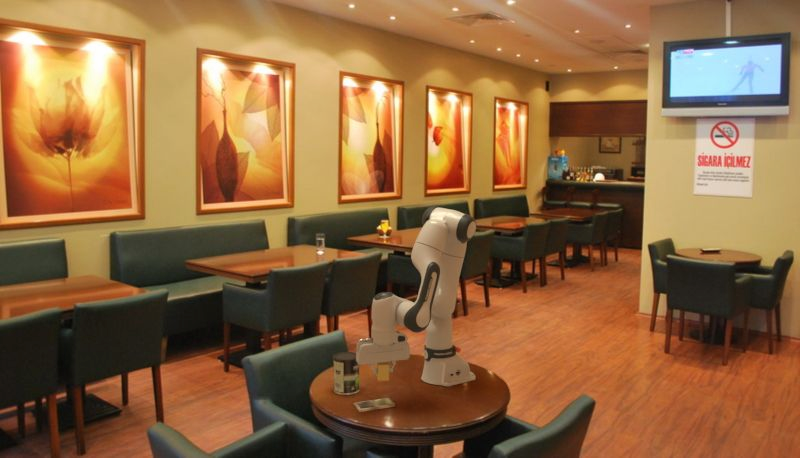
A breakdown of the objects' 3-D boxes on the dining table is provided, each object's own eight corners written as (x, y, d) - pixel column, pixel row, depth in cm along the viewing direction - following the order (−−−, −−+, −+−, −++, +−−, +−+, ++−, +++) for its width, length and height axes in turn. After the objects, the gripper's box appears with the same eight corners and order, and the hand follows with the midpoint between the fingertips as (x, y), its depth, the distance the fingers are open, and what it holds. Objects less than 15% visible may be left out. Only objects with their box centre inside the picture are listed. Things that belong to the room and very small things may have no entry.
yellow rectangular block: (387, 376, 244) (387, 361, 243) (388, 380, 240) (389, 364, 239) (376, 377, 243) (376, 361, 242) (378, 381, 239) (378, 365, 238)
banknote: (388, 399, 247) (388, 396, 247) (395, 406, 241) (395, 403, 241) (353, 405, 242) (353, 402, 242) (359, 412, 236) (359, 409, 236)
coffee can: (362, 386, 261) (362, 352, 259) (355, 396, 251) (355, 360, 249) (337, 384, 263) (337, 350, 261) (330, 394, 253) (329, 359, 251)
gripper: (359, 341, 233) (358, 379, 234) (411, 336, 240) (411, 372, 242) (353, 337, 238) (353, 373, 240) (405, 331, 246) (404, 367, 248)
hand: (382, 373), depth 241 cm, fingers closed on yellow rectangular block, 4 cm apart
